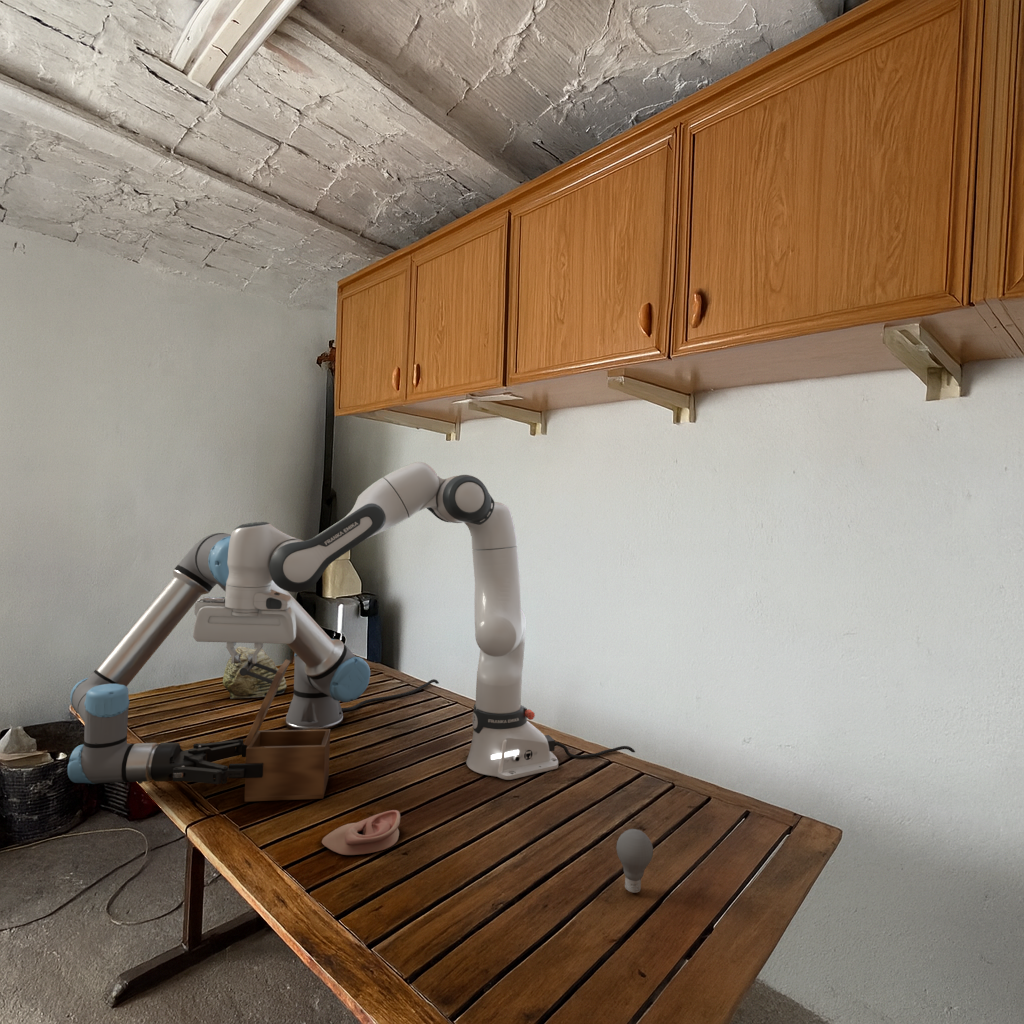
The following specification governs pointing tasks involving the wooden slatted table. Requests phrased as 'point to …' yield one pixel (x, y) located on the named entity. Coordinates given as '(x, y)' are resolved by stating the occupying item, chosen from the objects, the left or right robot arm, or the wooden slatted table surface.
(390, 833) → the anatomical model
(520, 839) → the wooden slatted table surface
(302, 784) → the chest
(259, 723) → the lid
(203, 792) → the wooden slatted table surface
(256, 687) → the fossil
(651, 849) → the light bulb
